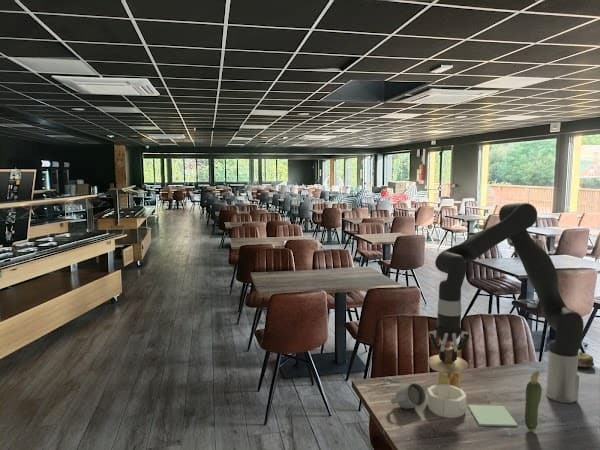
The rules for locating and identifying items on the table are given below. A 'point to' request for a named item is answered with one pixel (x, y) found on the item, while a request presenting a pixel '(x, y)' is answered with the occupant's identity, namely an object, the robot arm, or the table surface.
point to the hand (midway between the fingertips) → (447, 360)
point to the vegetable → (532, 402)
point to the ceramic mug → (410, 396)
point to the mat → (492, 415)
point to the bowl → (446, 400)
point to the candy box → (451, 375)
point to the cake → (585, 360)
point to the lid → (448, 363)
